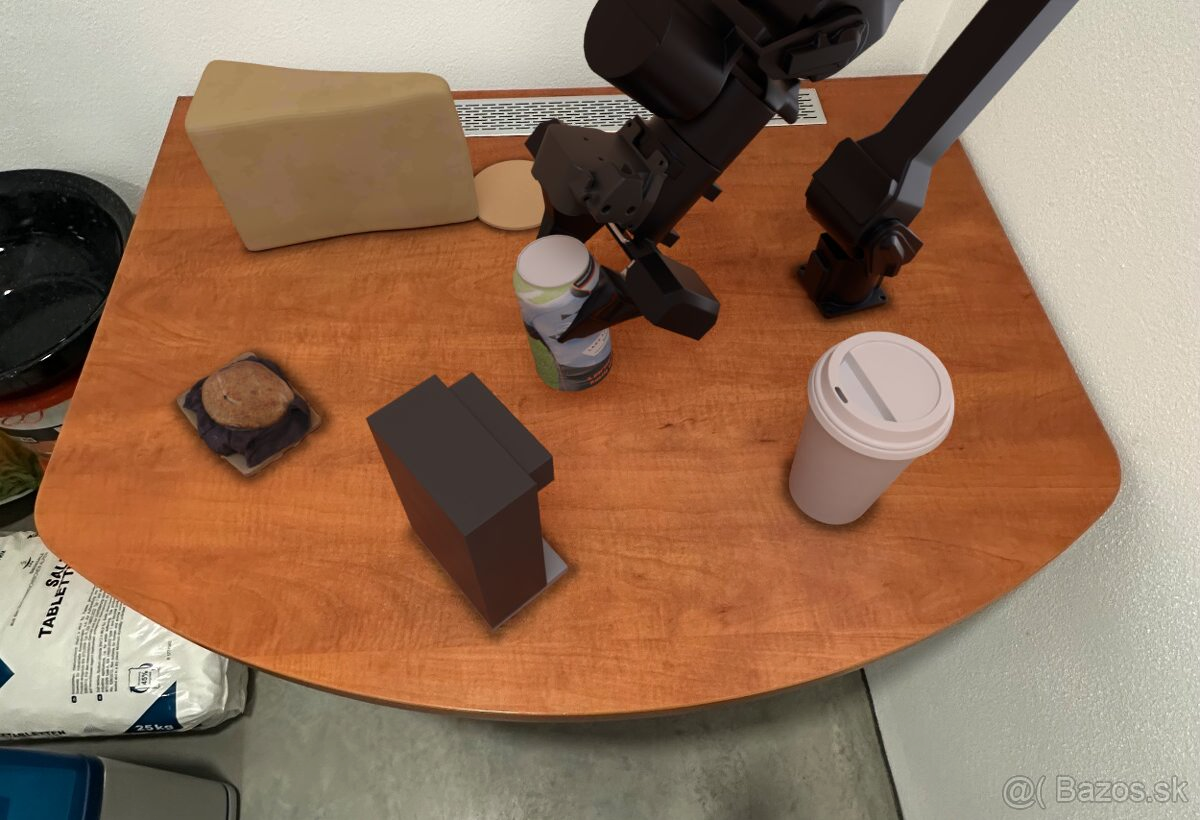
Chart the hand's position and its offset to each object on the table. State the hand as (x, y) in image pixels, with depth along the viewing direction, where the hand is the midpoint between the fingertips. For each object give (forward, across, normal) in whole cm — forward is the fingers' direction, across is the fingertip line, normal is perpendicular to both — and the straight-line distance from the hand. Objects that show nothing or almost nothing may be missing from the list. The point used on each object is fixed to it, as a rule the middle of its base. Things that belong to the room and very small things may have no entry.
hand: (542, 312), depth 57 cm
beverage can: (+4, 0, +6) cm, 7 cm away
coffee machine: (+15, +10, +2) cm, 18 cm away
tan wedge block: (+13, -28, +4) cm, 31 cm away
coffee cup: (-3, +17, +21) cm, 27 cm away
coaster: (+3, -25, +14) cm, 29 cm away
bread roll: (+25, -10, -7) cm, 28 cm away
